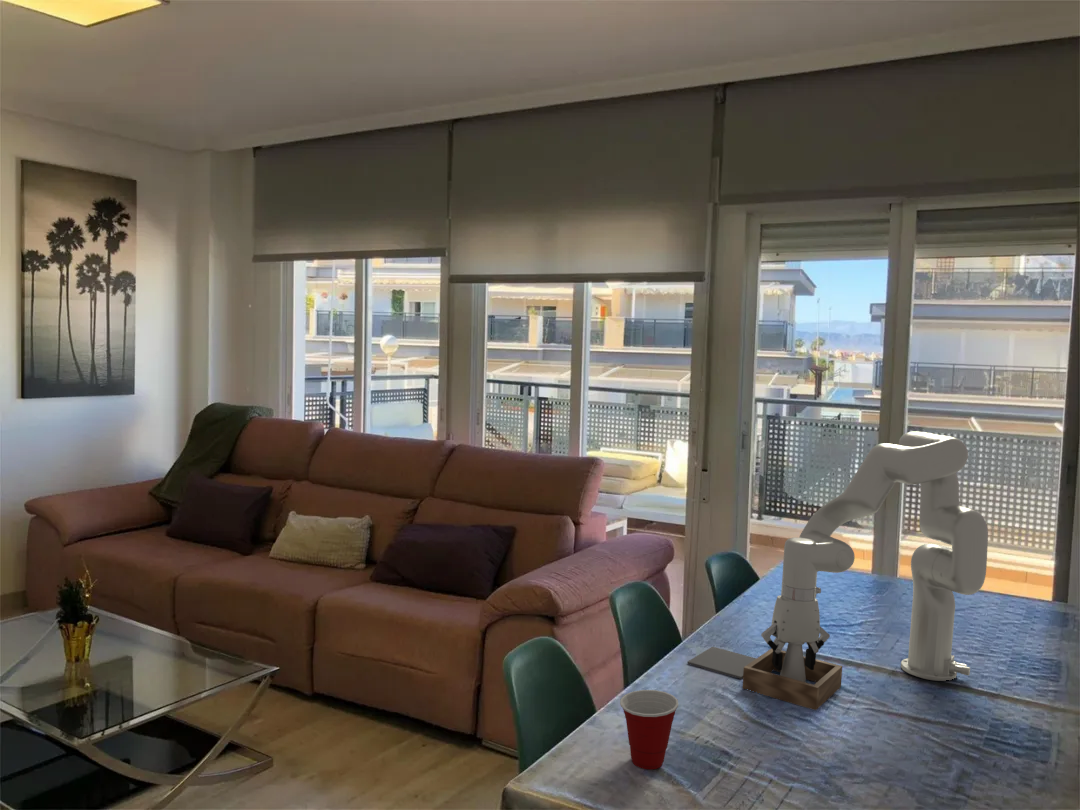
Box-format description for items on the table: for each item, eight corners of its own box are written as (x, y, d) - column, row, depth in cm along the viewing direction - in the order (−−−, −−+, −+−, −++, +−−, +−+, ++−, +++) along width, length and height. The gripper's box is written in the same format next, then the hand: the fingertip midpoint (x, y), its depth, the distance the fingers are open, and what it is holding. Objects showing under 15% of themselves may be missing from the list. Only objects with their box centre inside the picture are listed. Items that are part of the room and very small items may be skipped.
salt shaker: (806, 694, 193) (810, 638, 192) (780, 691, 194) (783, 635, 194) (803, 684, 199) (807, 630, 198) (778, 681, 200) (781, 627, 199)
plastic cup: (612, 748, 164) (615, 687, 163) (667, 748, 165) (670, 687, 164) (622, 777, 153) (625, 712, 152) (681, 777, 154) (685, 712, 153)
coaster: (764, 662, 212) (764, 660, 212) (741, 679, 201) (741, 676, 200) (712, 648, 220) (712, 646, 220) (687, 663, 209) (687, 661, 209)
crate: (840, 686, 198) (842, 666, 198) (816, 710, 185) (817, 688, 185) (770, 667, 209) (772, 647, 208) (742, 688, 195) (743, 667, 195)
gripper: (826, 587, 200) (821, 661, 201) (755, 587, 198) (751, 662, 199) (842, 597, 193) (836, 674, 194) (768, 597, 190) (764, 675, 191)
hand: (793, 667), depth 196 cm, fingers open, 7 cm apart
